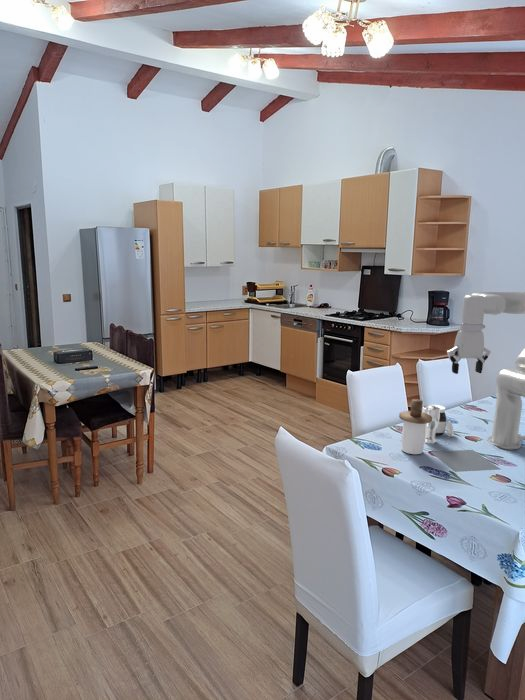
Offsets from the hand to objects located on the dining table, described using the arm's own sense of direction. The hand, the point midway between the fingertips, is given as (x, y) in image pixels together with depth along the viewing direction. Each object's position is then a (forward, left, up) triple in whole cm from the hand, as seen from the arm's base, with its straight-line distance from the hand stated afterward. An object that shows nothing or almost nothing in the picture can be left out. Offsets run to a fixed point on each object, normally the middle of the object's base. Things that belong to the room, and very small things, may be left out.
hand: (466, 372), depth 196 cm
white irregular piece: (-3, -20, -32) cm, 38 cm away
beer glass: (+7, -11, -32) cm, 35 cm away
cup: (+19, -1, -32) cm, 37 cm away
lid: (+19, -1, -18) cm, 26 cm away
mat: (+3, +9, -32) cm, 33 cm away
